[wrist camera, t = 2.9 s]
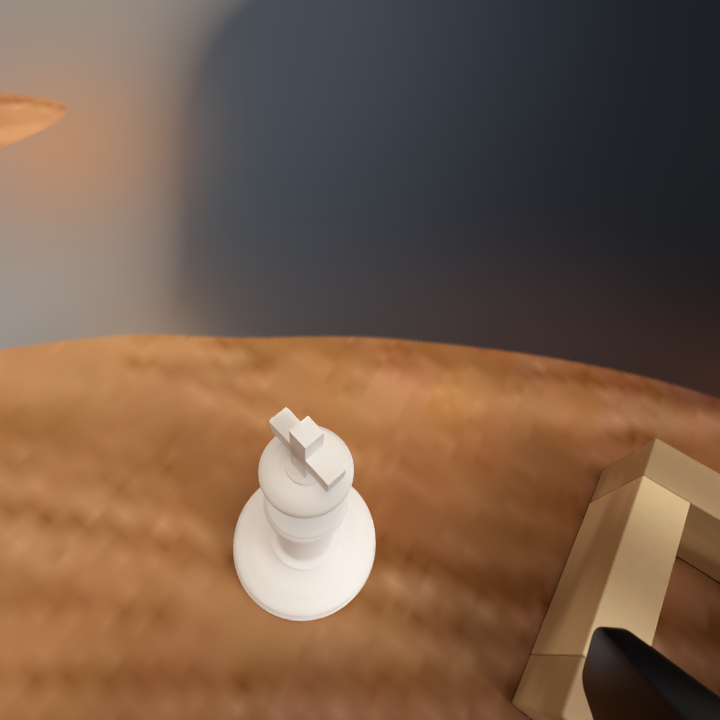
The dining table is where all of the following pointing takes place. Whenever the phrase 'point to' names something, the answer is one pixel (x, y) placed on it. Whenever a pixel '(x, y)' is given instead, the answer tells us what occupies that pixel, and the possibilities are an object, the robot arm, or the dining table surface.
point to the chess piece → (304, 525)
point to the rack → (621, 568)
